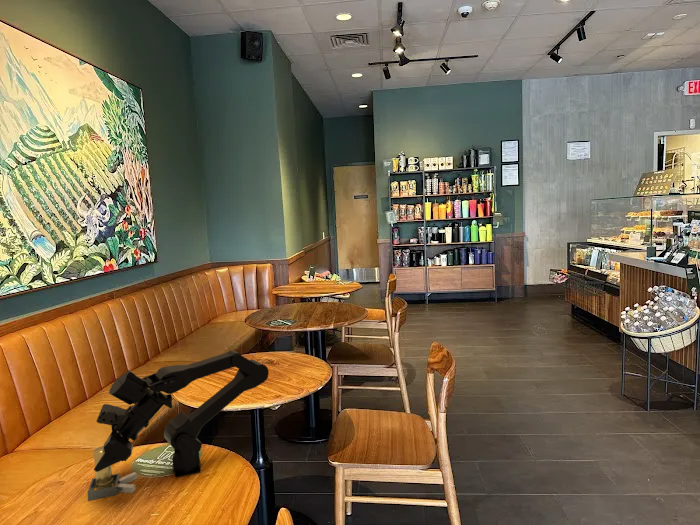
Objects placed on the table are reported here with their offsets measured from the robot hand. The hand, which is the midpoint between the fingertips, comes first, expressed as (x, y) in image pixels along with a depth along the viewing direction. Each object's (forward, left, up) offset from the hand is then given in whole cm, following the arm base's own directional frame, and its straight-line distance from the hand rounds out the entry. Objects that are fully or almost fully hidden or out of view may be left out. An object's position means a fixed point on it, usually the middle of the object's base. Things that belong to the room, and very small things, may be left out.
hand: (98, 461), depth 115 cm
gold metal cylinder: (-1, 0, -8) cm, 8 cm away
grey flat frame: (-3, 0, -8) cm, 8 cm away
